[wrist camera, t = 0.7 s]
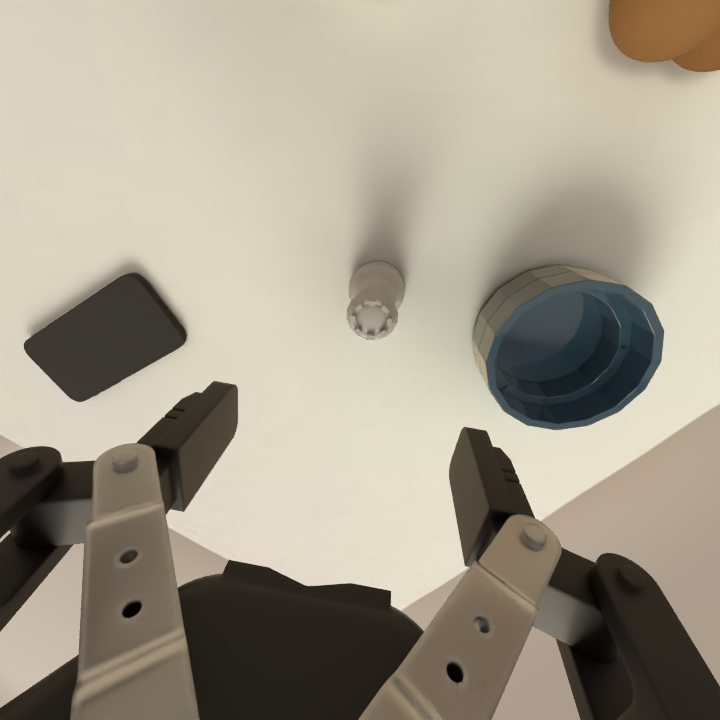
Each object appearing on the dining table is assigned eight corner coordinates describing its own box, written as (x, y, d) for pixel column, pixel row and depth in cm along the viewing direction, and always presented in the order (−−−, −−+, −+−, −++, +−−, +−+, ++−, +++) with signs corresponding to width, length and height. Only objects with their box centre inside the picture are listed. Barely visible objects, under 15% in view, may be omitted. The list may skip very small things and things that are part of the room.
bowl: (495, 253, 27) (517, 267, 22) (643, 276, 27) (698, 296, 22) (456, 380, 32) (468, 415, 27) (581, 401, 32) (615, 440, 27)
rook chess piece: (411, 268, 28) (417, 295, 21) (396, 320, 30) (396, 361, 23) (356, 253, 28) (343, 276, 21) (344, 306, 30) (328, 344, 23)
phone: (188, 343, 32) (77, 406, 36) (193, 340, 33) (83, 401, 37) (130, 269, 29) (17, 345, 33) (136, 267, 30) (25, 341, 34)
